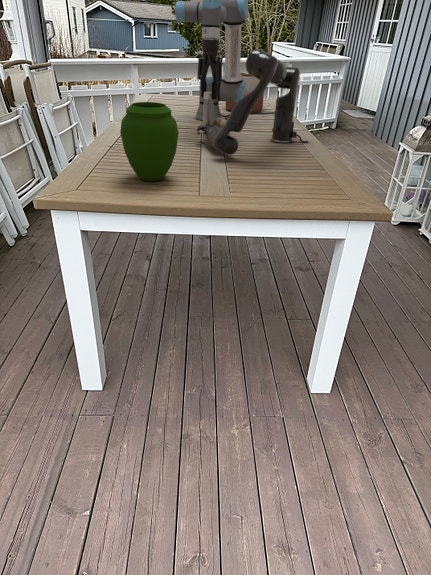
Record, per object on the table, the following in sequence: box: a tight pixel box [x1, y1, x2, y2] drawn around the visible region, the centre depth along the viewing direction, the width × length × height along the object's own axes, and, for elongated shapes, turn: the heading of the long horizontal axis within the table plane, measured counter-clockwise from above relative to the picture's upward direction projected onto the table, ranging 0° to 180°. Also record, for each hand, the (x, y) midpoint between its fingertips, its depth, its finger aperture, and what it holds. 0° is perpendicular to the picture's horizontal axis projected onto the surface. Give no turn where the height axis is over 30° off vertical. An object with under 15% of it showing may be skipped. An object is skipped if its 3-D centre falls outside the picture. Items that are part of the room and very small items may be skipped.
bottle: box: [201, 99, 214, 145], centre depth 192 cm, size 5×5×21 cm
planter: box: [225, 72, 265, 113], centre depth 276 cm, size 25×25×22 cm
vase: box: [119, 101, 179, 182], centre depth 140 cm, size 20×20×24 cm
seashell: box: [213, 116, 227, 127], centre depth 214 cm, size 10×6×8 cm, turn 97°
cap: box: [204, 92, 212, 99], centre depth 187 cm, size 5×5×2 cm
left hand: (208, 98), depth 187 cm, fingers open, 6 cm apart
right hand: (206, 127), depth 196 cm, fingers closed on bottle, 5 cm apart
